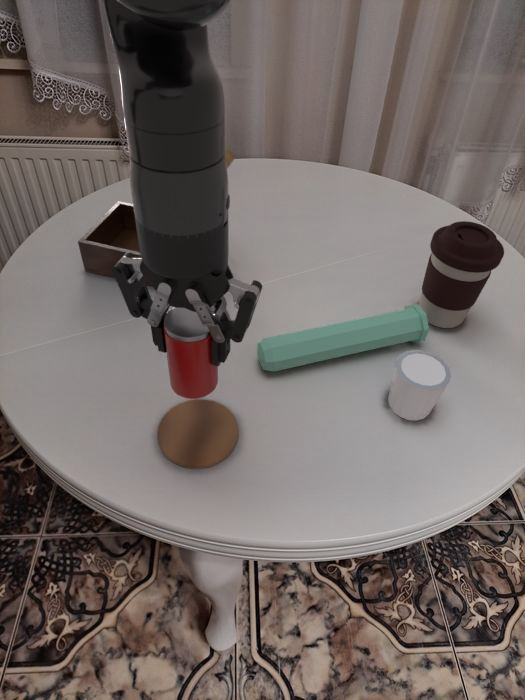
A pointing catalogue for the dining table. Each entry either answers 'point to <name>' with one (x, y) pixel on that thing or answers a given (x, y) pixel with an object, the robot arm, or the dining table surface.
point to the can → (189, 354)
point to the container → (343, 338)
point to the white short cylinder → (417, 384)
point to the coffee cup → (458, 271)
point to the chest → (110, 240)
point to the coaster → (198, 433)
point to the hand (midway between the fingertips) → (192, 353)
